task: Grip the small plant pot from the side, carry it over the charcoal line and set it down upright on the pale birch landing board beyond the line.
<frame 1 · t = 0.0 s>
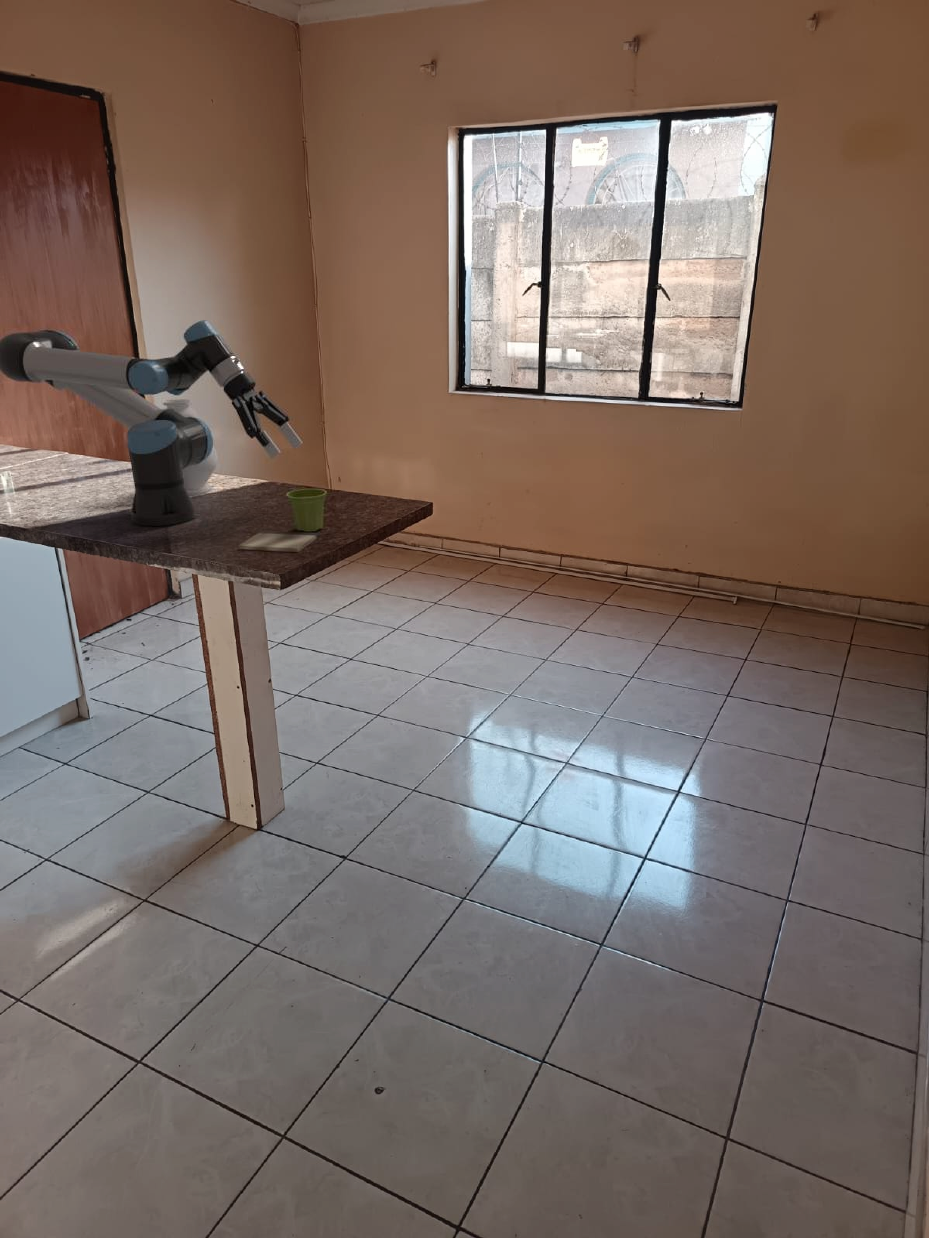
hand: (287, 450, 217), 15 cm above the countertop, tool tilted 35°, fingers open, 13 cm apart
plant pot: (309, 529, 206), on the countertop
decorative vase: (189, 491, 246), on the countertop
landing board: (279, 542, 195), on the countertop
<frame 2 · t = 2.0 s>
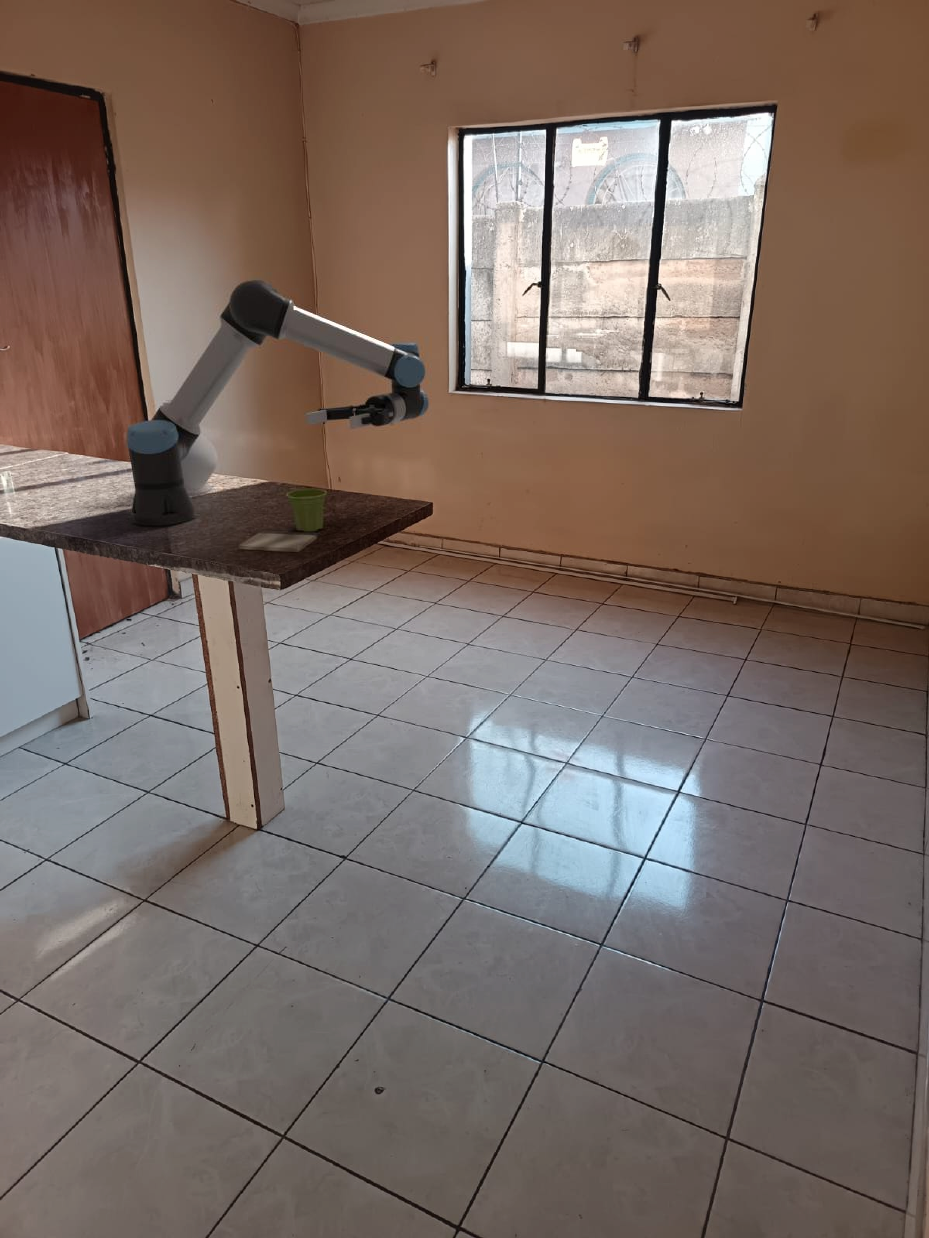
hand: (328, 421, 204), 24 cm above the countertop, tool horizontal, fingers open, 13 cm apart
nothing on the countertop moved.
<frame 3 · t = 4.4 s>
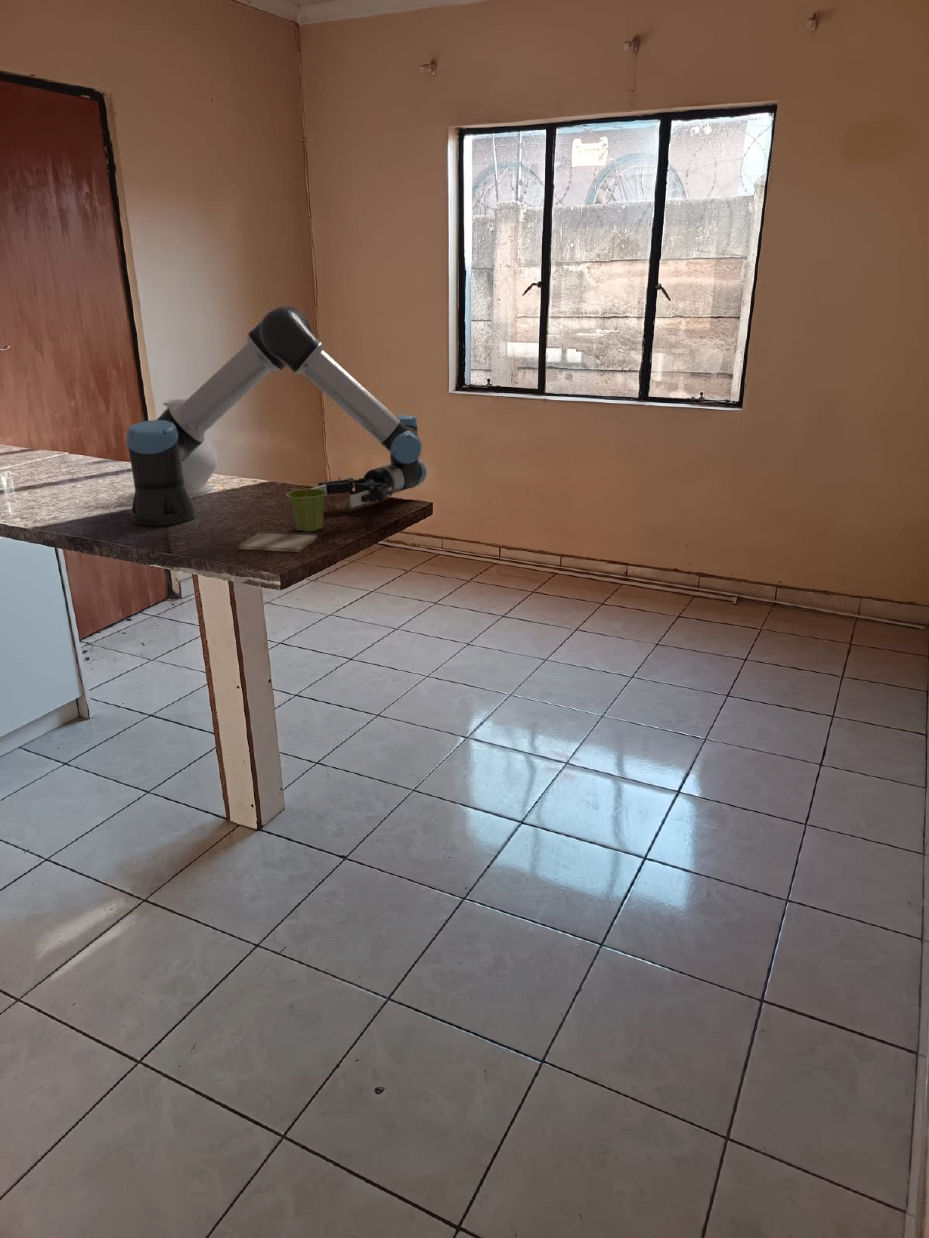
hand: (329, 498, 209), 6 cm above the countertop, tool horizontal, fingers open, 13 cm apart
nothing on the countertop moved.
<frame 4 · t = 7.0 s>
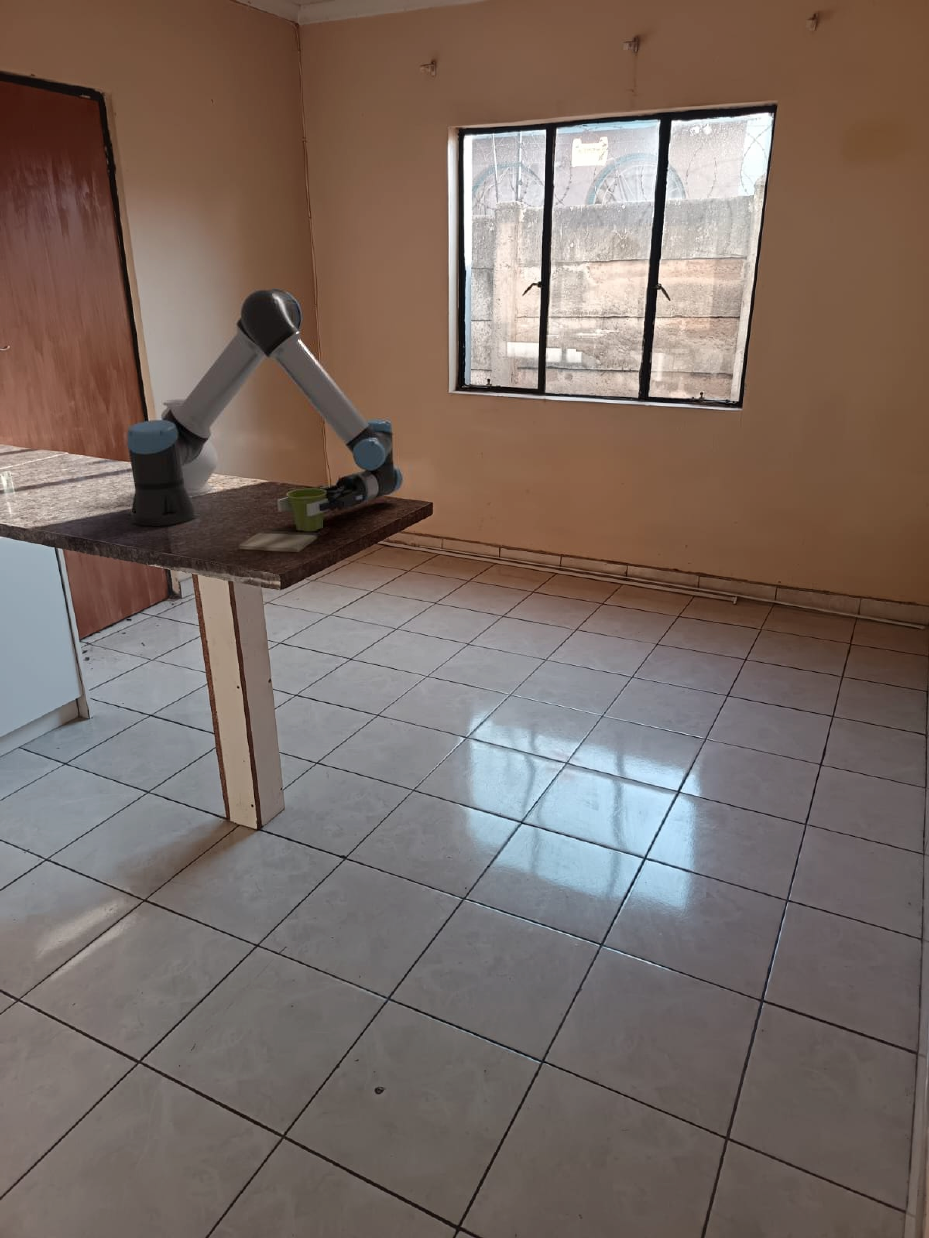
hand: (293, 508, 200), 6 cm above the countertop, tool horizontal, fingers closed on plant pot, 8 cm apart
plant pot: (309, 529, 206), on the countertop, touching gripper
everything else where it was.
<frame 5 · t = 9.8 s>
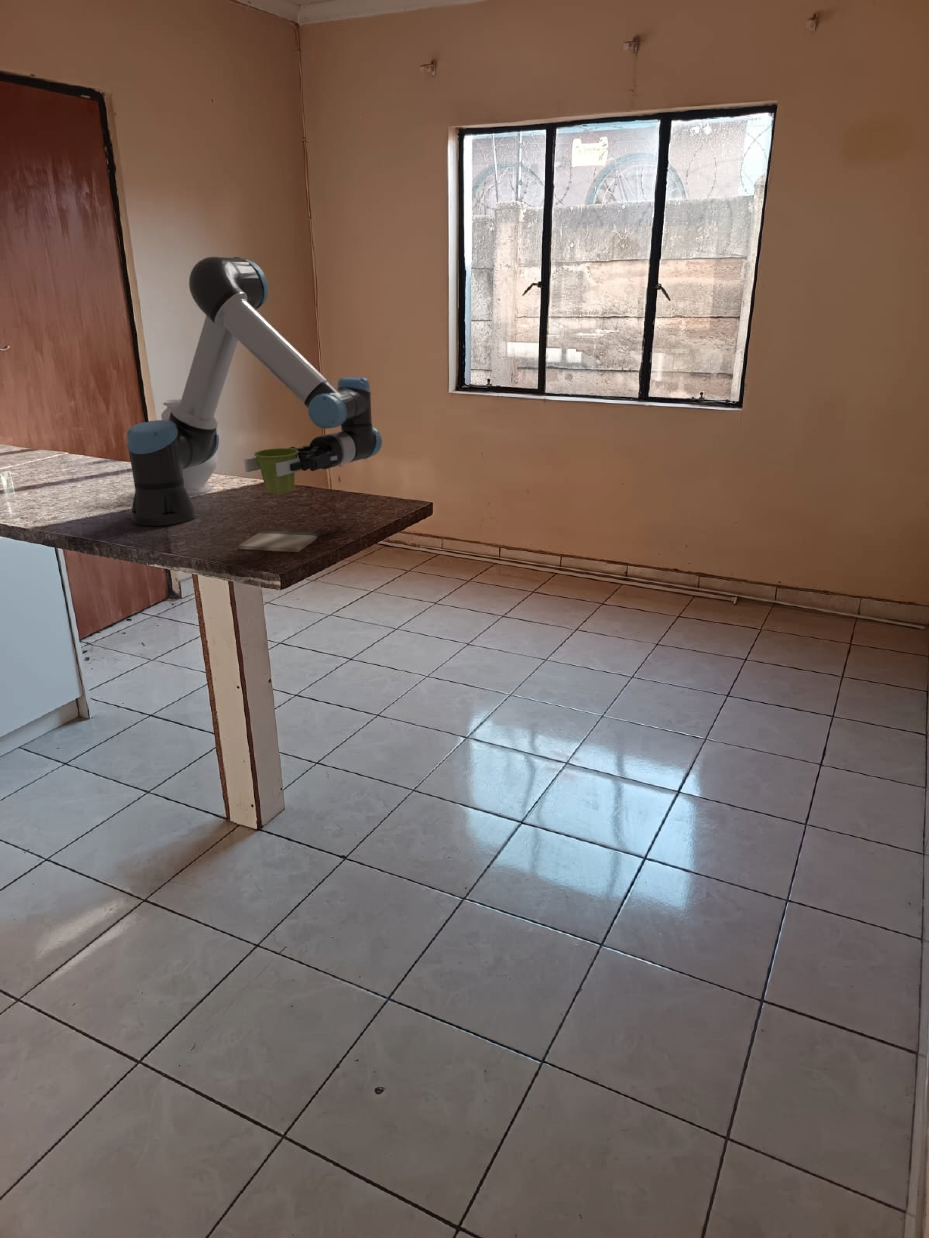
hand: (261, 467, 184), 18 cm above the countertop, tool horizontal, fingers closed on plant pot, 8 cm apart
plant pot: (279, 492, 190), point 12 cm above the countertop, touching gripper
everything else where it was.
when the fingers open (8 cm above the countertop, at t = 12.7 s): plant pot drops 1 cm, resting on landing board.
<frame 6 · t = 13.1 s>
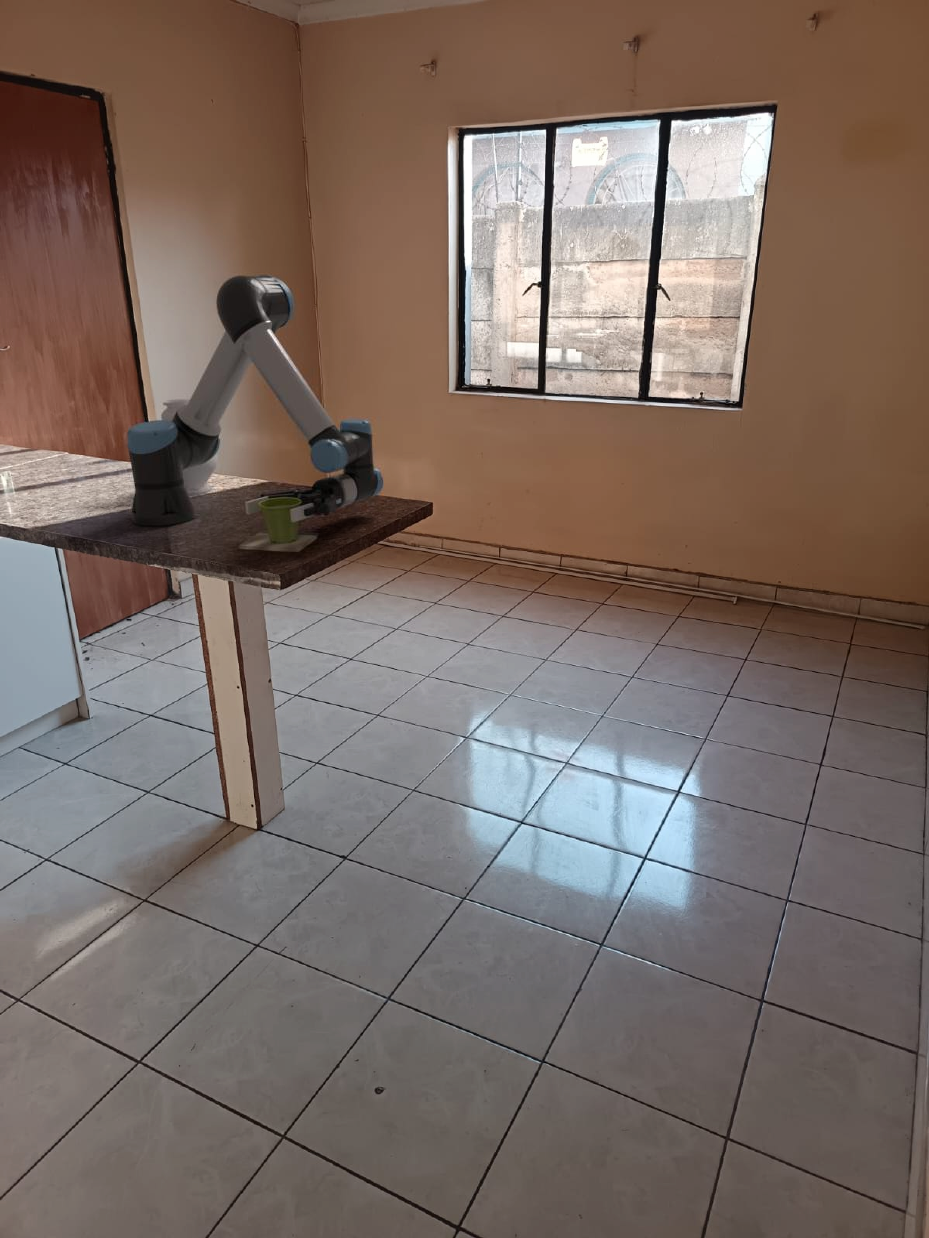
hand: (268, 512, 188), 8 cm above the countertop, tool horizontal, fingers open, 13 cm apart
plant pot: (283, 540, 194), point 1 cm above the countertop, touching landing board
everything else where it was.
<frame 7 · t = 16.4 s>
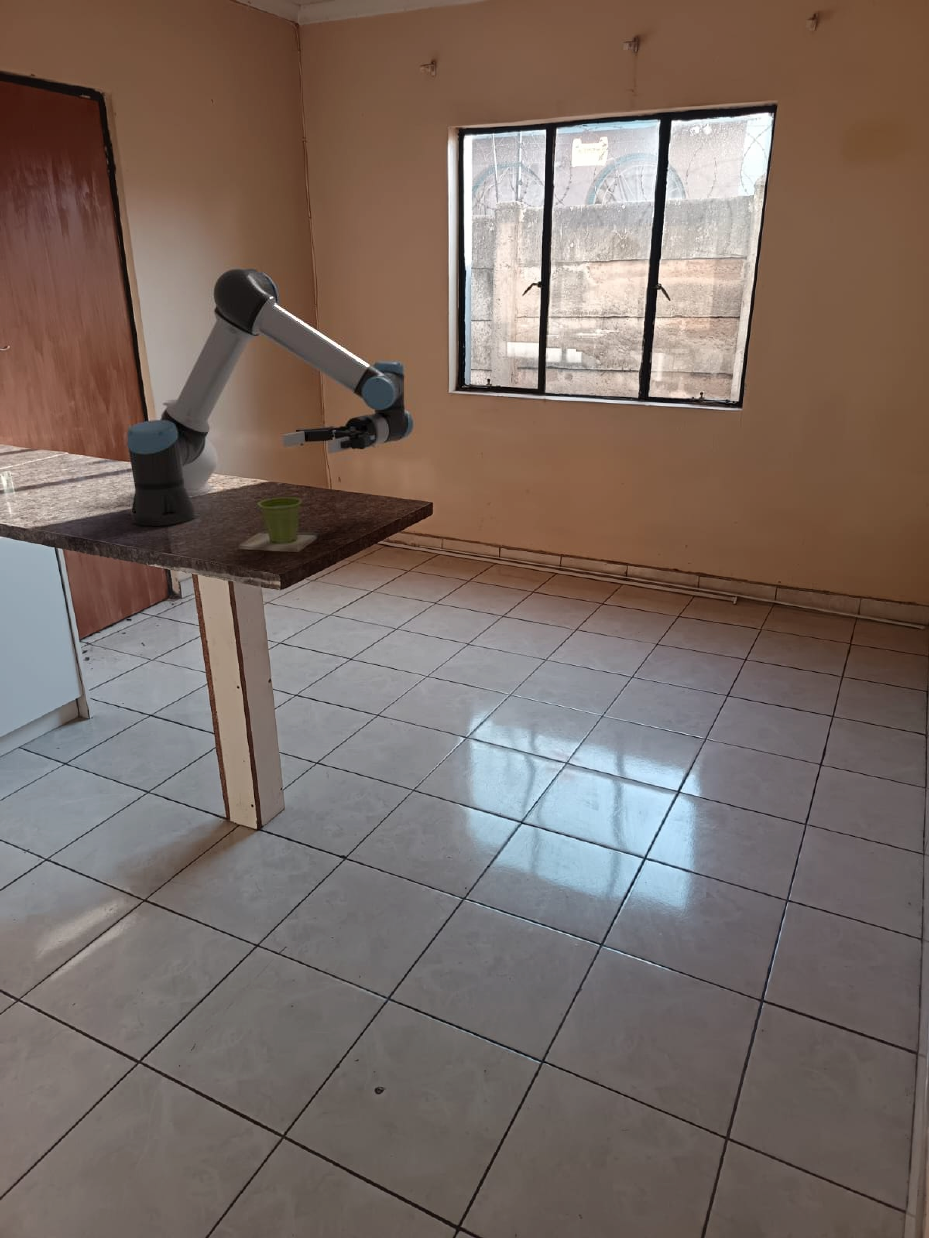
hand: (306, 444, 194), 21 cm above the countertop, tool horizontal, fingers open, 13 cm apart
nothing on the countertop moved.
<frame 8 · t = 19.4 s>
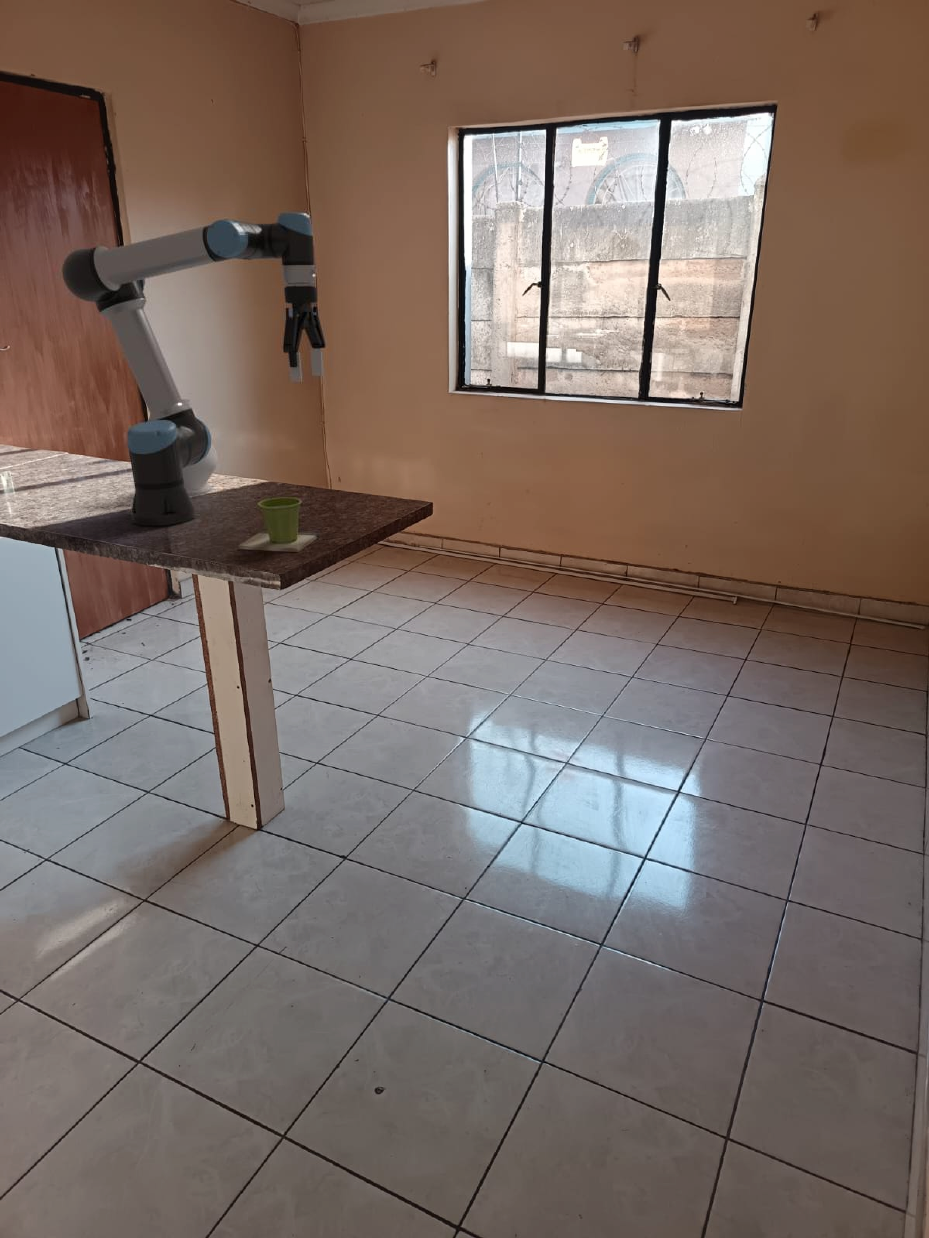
hand: (307, 378, 211), 33 cm above the countertop, tool pointing down, fingers open, 13 cm apart
nothing on the countertop moved.
at the end: plant pot inside the target area (1.0 cm from its centre), point 0.6 cm above the countertop; plant pot tilted 0°; the gripper is holding nothing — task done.
